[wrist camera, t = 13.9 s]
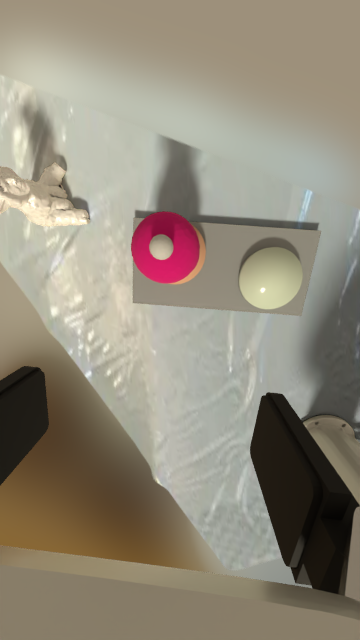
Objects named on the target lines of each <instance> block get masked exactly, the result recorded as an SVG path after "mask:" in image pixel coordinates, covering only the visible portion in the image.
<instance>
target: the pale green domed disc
mask: <svg viewBox="0 0 360 640" xmlns="http://www.w3.org/2000/svg"><path fill="white" fill-rule="evenodd" d="M302 278H303V271H302V266H301V264H300V261H299V260H298V258H297V257H296V256H295V255H294V254H293V253H292V252H290V251H289V250H287V249H284V248H280V247H270V248H264V249H260V250H258V251H256V252H254V253H253V254H251V255H250V256H249V257H248V258H247V259H246V260H245V261H244V263H243V265H242V266H241V269H240V271H239V275H238V286H239V290H240V292H241V294H242V296H243V297H244V298H245V300H246V301H248V302H249V303H250V304H252V305H253V306H255V307H258V308H261V309H275V308H278V307H281V306H283V305H285V304H287V303H288V302H289V301H291V300H292V299H293V298H294V297H295V295H296V294H297V292H298V291H299V289H300V286H301V283H302Z"/></svg>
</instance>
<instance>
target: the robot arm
mask: <svg viewBox="0 0 360 640" xmlns="http://www.w3.org/2000/svg"><path fill="white" fill-rule="evenodd" d="M48 425H49V421H48V409H47V399H46V387H45V376H44V373H43V372H42V371H41V369H40V368H38V367H29V366H24V367H21V368H20V369H18V370H17V371H15V372H13V373H12V374H10V375H8V376H7V377H6V378H4V379H2V380H1V381H0V485H1V484H2V483H3V482H4V481H5V479H6V478H7V477H8V476H9V475H10V474H11V472H12V471H13V470H14V469H15V468H16V466H17V465H18V464H19V463H20V462H21V461H22V459H23V458H24V457H25V456H26V455H27V454H28V452H29V451H30V450H31V449H32V448H33V447H34V445H35V444H36V443H37V442H38V441H39V440H40V438H41V437H42V436H43V435H44V434H45V432H46V430H47V429H48ZM250 454H251V458H252V462H253V465H254V468H255V471H256V474H257V478H258V481H259V484H260V487H261V490H262V494H263V497H264V500H265V503H266V507H267V510H268V513H269V516H270V519H271V523H272V526H273V529H274V532H275V536H276V539H277V542H278V545H279V548H280V552H281V555H282V558H283V561H284V563H285V564H286V566H288V567H291V570H292V573H293V576H294V580H295V583H299V584H306V585H312V588H313V589H311V588H306V587H301V586H294V585H287V584H282V583H275V582H269V581H262V580H256V579H249V578H243V577H237V576H229V575H222V574H215V573H207V572H200V571H193V570H185V569H178V568H170V567H163V566H155V565H148V564H140V563H133V562H124V561H118V560H109V559H102V558H94V557H87V556H79V555H71V554H63V553H55V552H47V551H39V550H31V549H23V548H16V547H7V546H0V640H360V443H359V442H358V441H357V440H356V438H355V434H354V431H353V429H352V427H351V426H350V425H349V424H348V423H347V422H346V421H344V420H343V419H341V418H339V417H337V416H333V415H320V416H315V417H312V418H310V419H308V420H306V421H304V422H303V423H302V421H301V420H300V418H299V417H298V415H297V414H296V413H295V411H294V410H293V408H292V407H291V405H290V404H289V403H288V401H287V400H286V398H285V397H284V395H283V394H278V393H269V392H268V393H267V394H266V396H262V397H261V401H260V406H259V410H258V415H257V419H256V424H255V428H254V432H253V437H252V441H251V446H250Z"/></svg>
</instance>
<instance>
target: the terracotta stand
mask: <svg viewBox="0 0 360 640" xmlns="http://www.w3.org/2000/svg"><path fill="white" fill-rule="evenodd" d="M191 225H192V224H191ZM192 226H193V225H192ZM193 228H194V229H195V231H196V233H197V236H198V239H199V244H200V255H199V260H198V263H197V265H196V267H195V269H194V270H193V271H192V272H191V273H190V274H189V275H188V276H187V277H185V278H184V279H182V280H180V281H178V282H175V283H169V284H182V283H185V282H188V281H189V280H191V279H193V278H194V277H195V276H196V275H197V274H198V273H199V271H200V270H201V268H202V266H203V264H204V261H205V256H206V248H205V243H204V240H203V237H202V235H201V234H200V232H199V231H198V230H197V229H196V227H194V226H193Z"/></svg>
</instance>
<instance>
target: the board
mask: <svg viewBox="0 0 360 640" xmlns="http://www.w3.org/2000/svg"><path fill="white" fill-rule="evenodd" d="M143 219H145V218H134V224H133V234H134V232H135V230H136V228H137V226H138V225H139V224H140V222H141V221H142V220H143ZM188 222H189V221H188ZM189 223H190V224H192V225H193V226H194V227H196V229H197V230H198V231H199V232H200V234H201V235H202V237H203V240H204V243H205V248H206V256H205V261H204V264H203V266H202V268H201V270H200V271H199V273H198V274H197V275H196V276H195V277H194V278H193V279H191V280H189V281H188V282H185V283H182V284H163V283H158V282H155V281H152V280H150V279H149V278H147V277H146V276H145V275H143V274H142V273H141V272H140V270H139V269H138V268H137V266H136V264H135V263H134V260H133V303H140V304H153V305H166V306H179V307H192V308H205V309H218V310H231V311H244V312H257V313H270V314H283V315H296V316H301V314H302V310H303V306H304V302H305V298H306V293H307V289H308V285H309V281H310V276H311V272H312V268H313V264H314V260H315V255H316V251H317V247H318V243H319V238H320V234H321V231H316V230H302V229H288V228H274V227H259V226H245V225H231V224H217V223H203V222H189ZM270 247H280V248H284V249H287V250H289V251H290V252H292V253H293V254H294V255H295V256H296V257H297V258H298V260H299V261H300V264H301V266H302V271H303V278H302V283H301V286H300V289H299V291H298V292H297V294H296V295H295V297H294V298H293V299H292V300H291V301H289V302H288V303H287V304H285V305H283V306H281V307H278V308H275V309H261V308H258V307H255V306H253V305H252V304H250V303H249V302H248V301H246V300H245V298H244V297H243V296H242V294H241V292H240V290H239V286H238V275H239V271H240V269H241V266H242V265H243V263H244V261H245V260H246V259H247V258H248V257H249V256H250V255H251V254H253V253H254V252H256V251H258V250H260V249H264V248H270Z"/></svg>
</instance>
